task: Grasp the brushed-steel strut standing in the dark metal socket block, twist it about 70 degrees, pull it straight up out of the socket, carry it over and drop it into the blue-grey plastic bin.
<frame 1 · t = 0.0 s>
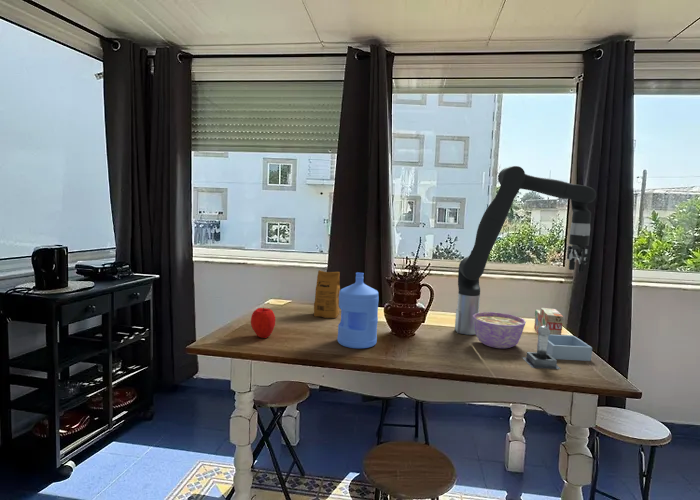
hand: (576, 271, 186), 29 cm above the table, fingers open, 8 cm apart
water jug: (356, 343, 171), on the table
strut: (540, 362, 153), point 1 cm above the table, touching socket block
apple: (262, 337, 174), on the table
bowl of food: (496, 347, 173), on the table
stack of blocks: (546, 336, 190), on the table
socket block: (540, 365, 154), on the table
bin: (562, 355, 165), on the table
coffee package: (326, 316, 209), on the table
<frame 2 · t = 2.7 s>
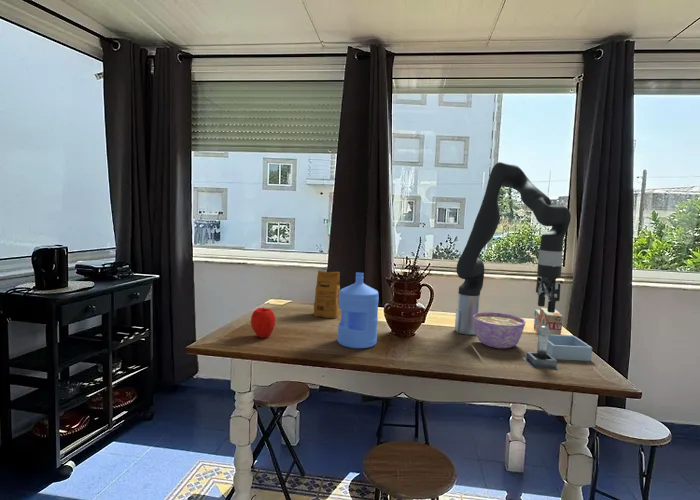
hand: (545, 309, 151), 21 cm above the table, fingers open, 8 cm apart
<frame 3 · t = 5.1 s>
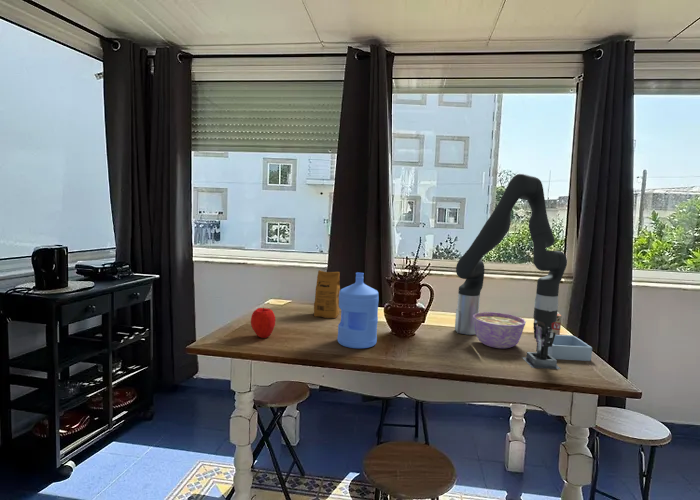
hand: (541, 354, 153), 4 cm above the table, fingers closed on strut, 3 cm apart
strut: (540, 362, 153), point 1 cm above the table, touching gripper, socket block
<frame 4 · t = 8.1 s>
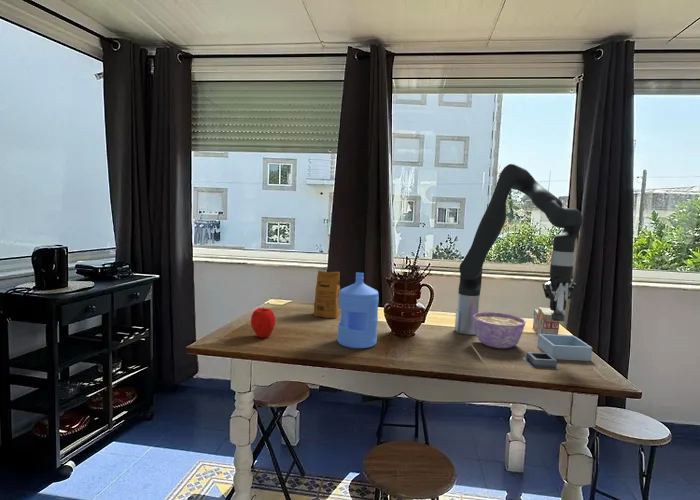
hand: (557, 310, 158), 19 cm above the table, fingers closed on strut, 3 cm apart
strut: (557, 319, 157), point 16 cm above the table, touching gripper
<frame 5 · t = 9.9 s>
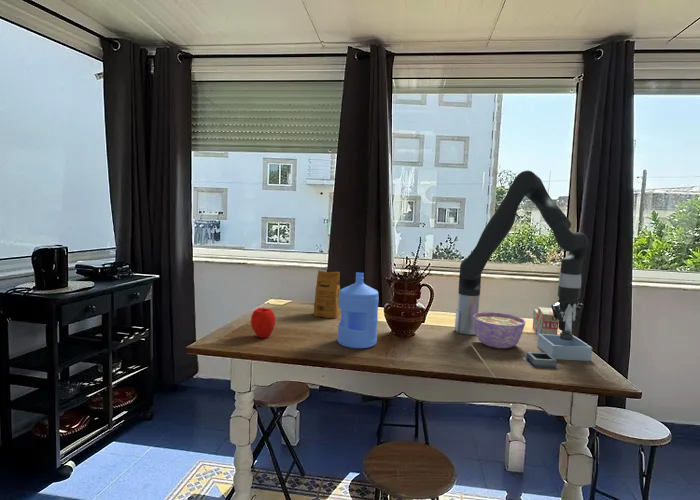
hand: (565, 329, 164), 10 cm above the table, fingers closed on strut, 3 cm apart
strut: (566, 338, 164), point 7 cm above the table, touching gripper
when the fingers open (6 cm above the table, at t = 11.3 s): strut drops 1 cm, resting on bin.
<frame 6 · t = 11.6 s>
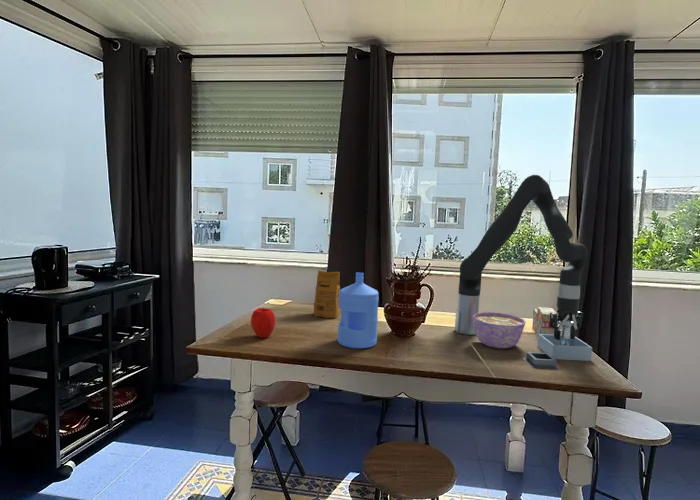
hand: (564, 338, 164), 7 cm above the table, fingers open, 6 cm apart
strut: (564, 353, 164), point 1 cm above the table, touching bin
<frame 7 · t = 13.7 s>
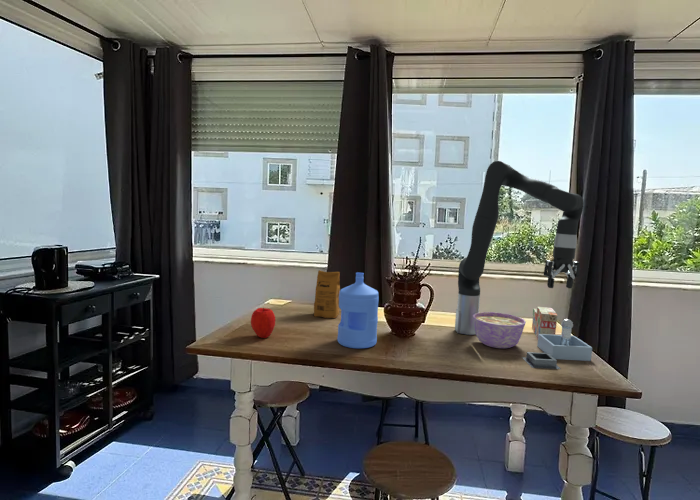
hand: (559, 287, 165), 26 cm above the table, fingers open, 8 cm apart
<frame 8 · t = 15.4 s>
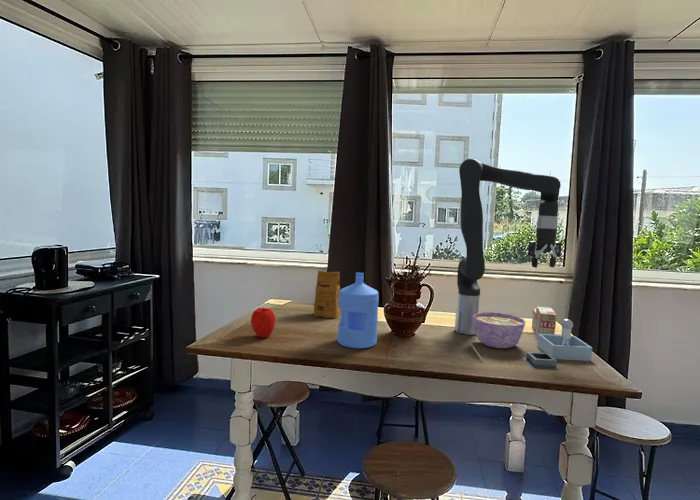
hand: (543, 267, 174), 32 cm above the table, fingers open, 8 cm apart
at the end: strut inside the target area on the bin (0.6 cm from its centre), point 1.0 cm above the bin's base; the gripper is holding nothing; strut touching bin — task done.
